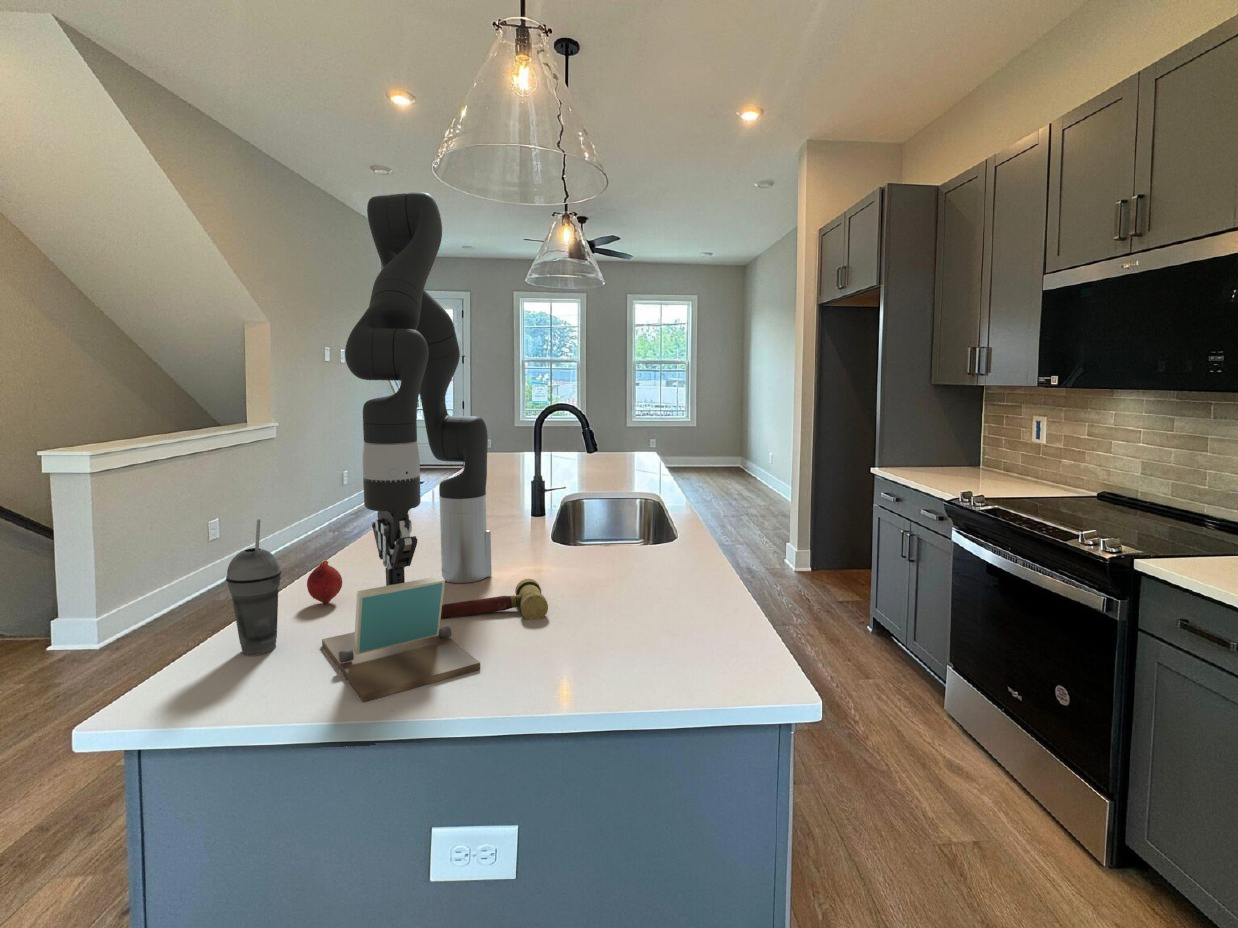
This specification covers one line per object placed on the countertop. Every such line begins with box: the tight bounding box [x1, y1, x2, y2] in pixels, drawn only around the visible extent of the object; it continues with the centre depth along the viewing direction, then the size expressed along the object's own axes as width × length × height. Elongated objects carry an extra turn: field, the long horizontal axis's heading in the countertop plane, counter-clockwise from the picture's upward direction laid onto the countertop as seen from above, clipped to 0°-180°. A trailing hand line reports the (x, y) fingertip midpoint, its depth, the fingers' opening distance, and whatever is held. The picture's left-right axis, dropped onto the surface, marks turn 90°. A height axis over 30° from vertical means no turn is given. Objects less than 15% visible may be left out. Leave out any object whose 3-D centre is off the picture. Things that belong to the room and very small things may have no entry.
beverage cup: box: [225, 518, 282, 657], centre depth 97 cm, size 7×7×20 cm
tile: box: [354, 575, 446, 655], centre depth 94 cm, size 12×10×1 cm
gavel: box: [440, 578, 549, 620], centre depth 114 cm, size 21×5×10 cm
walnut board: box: [321, 626, 481, 703], centre depth 96 cm, size 16×22×3 cm
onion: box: [306, 559, 343, 604], centre depth 118 cm, size 6×6×8 cm
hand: (395, 592), depth 94 cm, fingers closed
